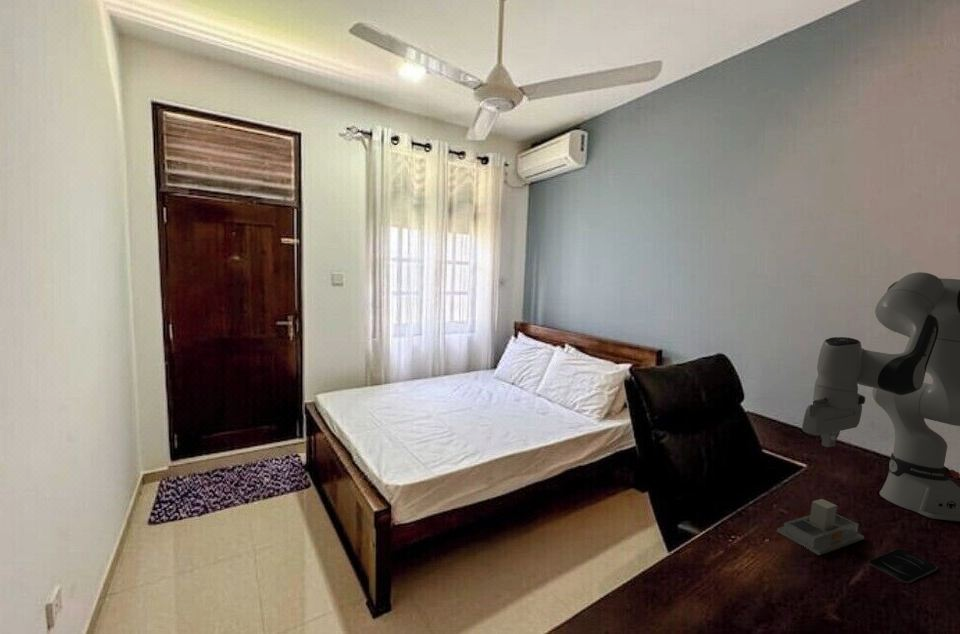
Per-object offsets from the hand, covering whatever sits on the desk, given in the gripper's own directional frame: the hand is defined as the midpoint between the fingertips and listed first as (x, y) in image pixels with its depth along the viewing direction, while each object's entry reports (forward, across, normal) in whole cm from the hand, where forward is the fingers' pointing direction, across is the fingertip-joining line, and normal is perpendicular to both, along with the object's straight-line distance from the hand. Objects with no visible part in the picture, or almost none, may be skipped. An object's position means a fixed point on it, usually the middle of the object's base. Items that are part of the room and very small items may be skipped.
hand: (828, 445), depth 112 cm
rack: (+23, -5, -3) cm, 24 cm away
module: (+22, -5, -3) cm, 23 cm away
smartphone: (+24, +1, -17) cm, 30 cm away
